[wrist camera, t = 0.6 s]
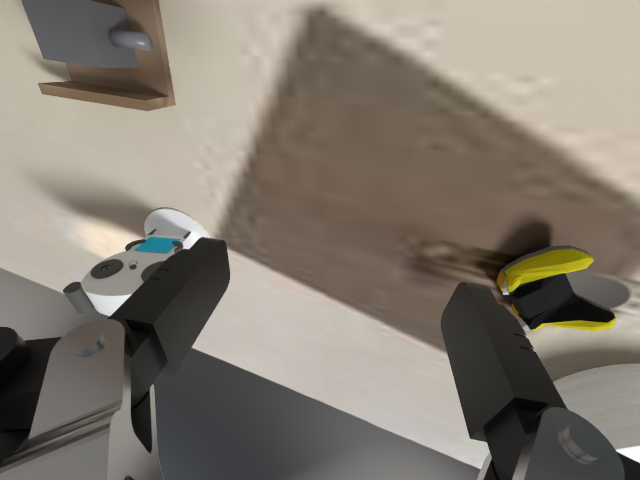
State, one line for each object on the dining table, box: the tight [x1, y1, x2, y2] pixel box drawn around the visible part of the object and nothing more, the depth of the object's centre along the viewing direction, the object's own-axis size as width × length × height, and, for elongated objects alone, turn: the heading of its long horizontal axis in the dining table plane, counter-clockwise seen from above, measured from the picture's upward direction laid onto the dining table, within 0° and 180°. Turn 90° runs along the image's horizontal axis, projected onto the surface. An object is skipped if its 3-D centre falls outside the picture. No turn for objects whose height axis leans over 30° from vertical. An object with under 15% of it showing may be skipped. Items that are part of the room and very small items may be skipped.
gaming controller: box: [497, 246, 616, 331], centre depth 36 cm, size 15×6×10 cm
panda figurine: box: [63, 208, 210, 316], centre depth 38 cm, size 12×11×15 cm
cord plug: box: [22, 0, 153, 68], centre depth 26 cm, size 5×10×5 cm, turn 83°
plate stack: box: [553, 363, 640, 463], centre depth 47 cm, size 28×28×12 cm
